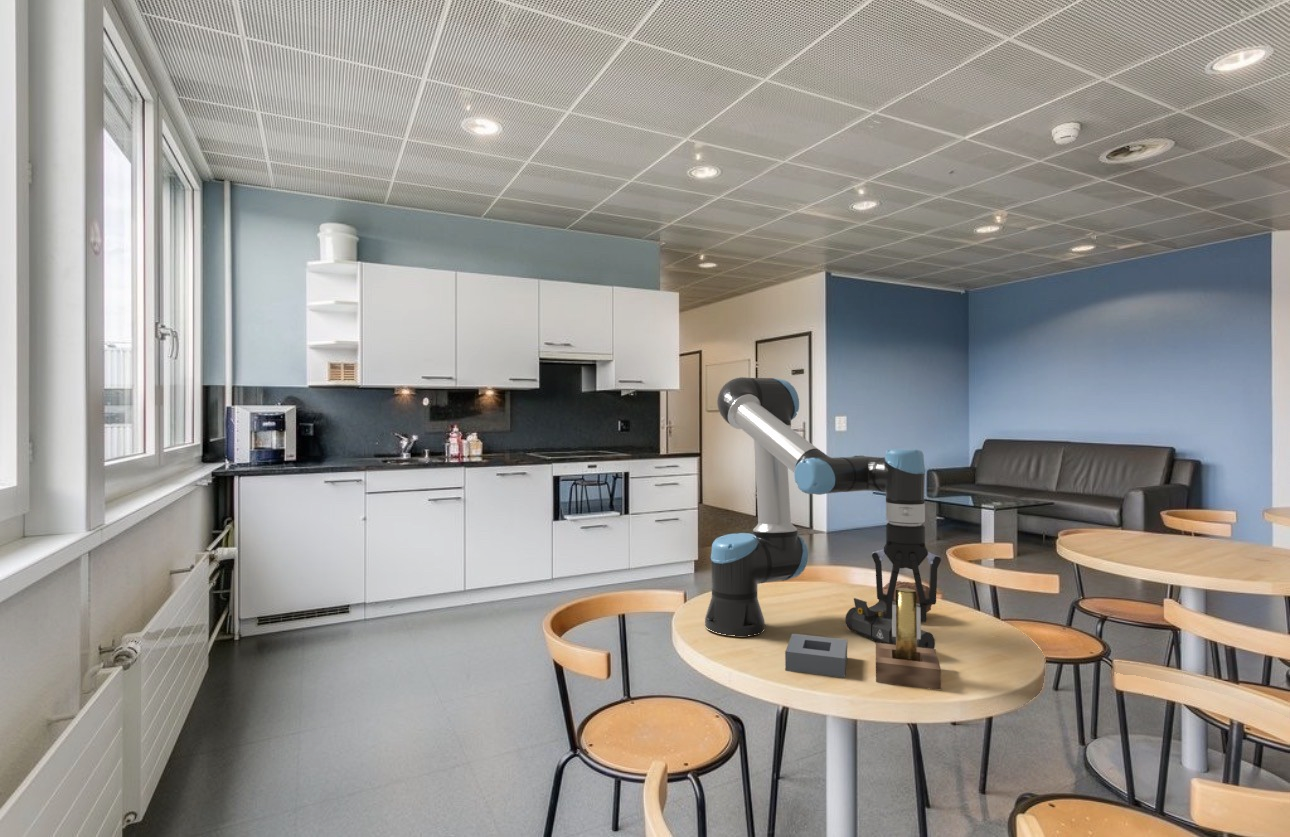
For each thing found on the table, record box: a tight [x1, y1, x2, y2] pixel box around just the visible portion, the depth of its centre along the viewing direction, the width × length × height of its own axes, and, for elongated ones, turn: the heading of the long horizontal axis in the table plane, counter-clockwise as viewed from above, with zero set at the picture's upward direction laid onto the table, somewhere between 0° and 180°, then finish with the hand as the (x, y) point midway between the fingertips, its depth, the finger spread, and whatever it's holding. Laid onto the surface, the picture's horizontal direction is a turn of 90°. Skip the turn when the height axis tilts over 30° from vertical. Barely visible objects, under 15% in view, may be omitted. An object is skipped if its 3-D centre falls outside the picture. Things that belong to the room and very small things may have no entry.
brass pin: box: [896, 588, 917, 661], centre depth 131 cm, size 4×4×16 cm
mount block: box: [784, 633, 848, 679], centre depth 137 cm, size 12×12×4 cm
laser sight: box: [844, 597, 936, 649], centre depth 150 cm, size 10×22×10 cm, turn 27°
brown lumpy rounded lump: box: [883, 580, 933, 614], centre depth 170 cm, size 13×11×10 cm
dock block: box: [875, 642, 942, 690], centre depth 131 cm, size 12×12×4 cm
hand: (906, 635), depth 131 cm, fingers closed on brass pin, 4 cm apart
